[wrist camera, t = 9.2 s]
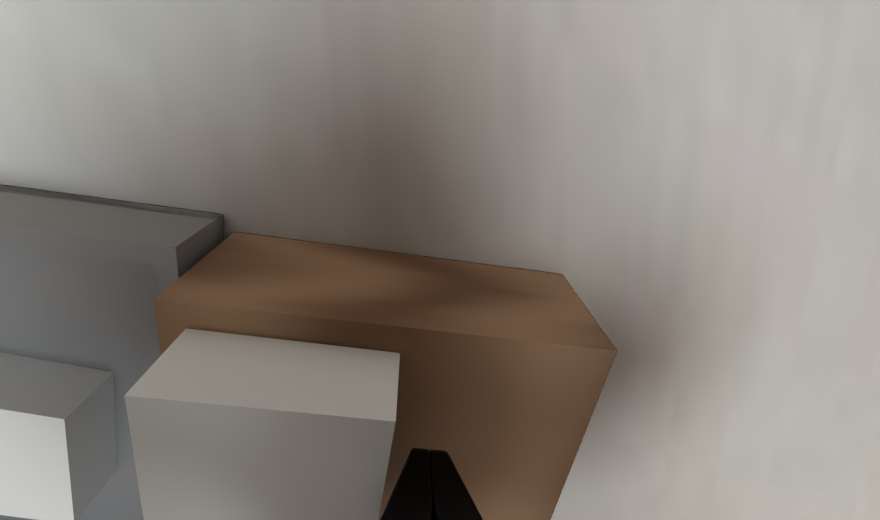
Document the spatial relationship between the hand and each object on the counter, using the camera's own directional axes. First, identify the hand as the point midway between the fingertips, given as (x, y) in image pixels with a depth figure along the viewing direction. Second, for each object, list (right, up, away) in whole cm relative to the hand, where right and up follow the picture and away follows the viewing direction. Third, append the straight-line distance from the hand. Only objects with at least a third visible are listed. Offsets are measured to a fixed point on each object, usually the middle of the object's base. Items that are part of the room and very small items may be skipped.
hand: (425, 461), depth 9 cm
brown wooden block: (-2, -1, +6) cm, 6 cm away
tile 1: (-13, -1, +3) cm, 13 cm away
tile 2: (-3, +1, 0) cm, 3 cm away
